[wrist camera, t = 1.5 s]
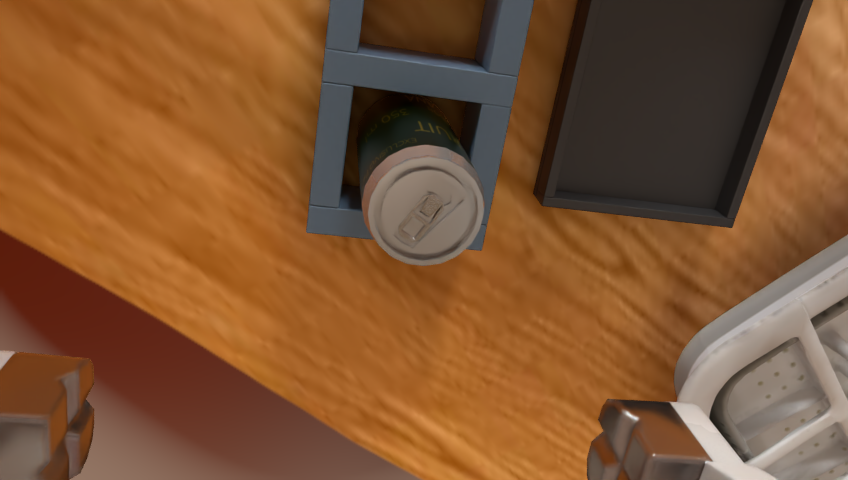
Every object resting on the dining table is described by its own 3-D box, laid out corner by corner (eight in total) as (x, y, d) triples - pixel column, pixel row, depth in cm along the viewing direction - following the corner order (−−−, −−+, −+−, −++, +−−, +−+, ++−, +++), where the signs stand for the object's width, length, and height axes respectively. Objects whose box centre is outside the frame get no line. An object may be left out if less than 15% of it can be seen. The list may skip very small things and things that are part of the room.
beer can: (410, 198, 42) (435, 292, 31) (337, 146, 40) (336, 226, 29) (467, 127, 41) (515, 200, 30) (394, 70, 39) (415, 125, 28)
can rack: (343, -132, 35) (344, -140, 31) (533, -97, 36) (555, -100, 33) (308, 206, 42) (306, 233, 38) (469, 224, 43) (481, 251, 40)
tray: (595, -77, 37) (609, -77, 35) (802, -38, 39) (826, -36, 37) (532, 193, 43) (541, 206, 41) (715, 215, 45) (732, 228, 43)
